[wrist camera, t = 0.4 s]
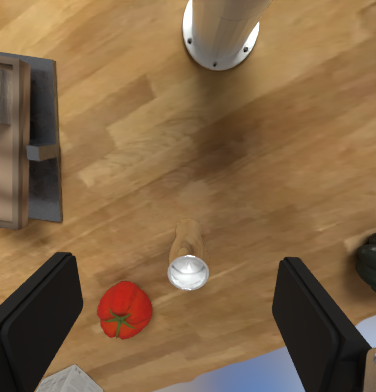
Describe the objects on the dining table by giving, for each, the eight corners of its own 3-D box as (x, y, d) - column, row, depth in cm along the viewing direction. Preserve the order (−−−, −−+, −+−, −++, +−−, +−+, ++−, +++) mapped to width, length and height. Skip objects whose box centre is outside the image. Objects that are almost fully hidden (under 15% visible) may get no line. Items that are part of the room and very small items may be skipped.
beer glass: (173, 243, 50) (165, 290, 36) (174, 214, 48) (166, 253, 33) (203, 244, 50) (208, 293, 36) (206, 216, 48) (212, 255, 33)
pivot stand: (-28, 49, 39) (-74, 33, 32) (58, 61, 39) (31, 48, 32) (-4, 211, 48) (-36, 225, 41) (64, 220, 48) (44, 235, 42)
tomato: (151, 319, 57) (145, 351, 49) (103, 311, 56) (89, 342, 48) (159, 279, 53) (153, 306, 45) (107, 270, 52) (92, 296, 44)
